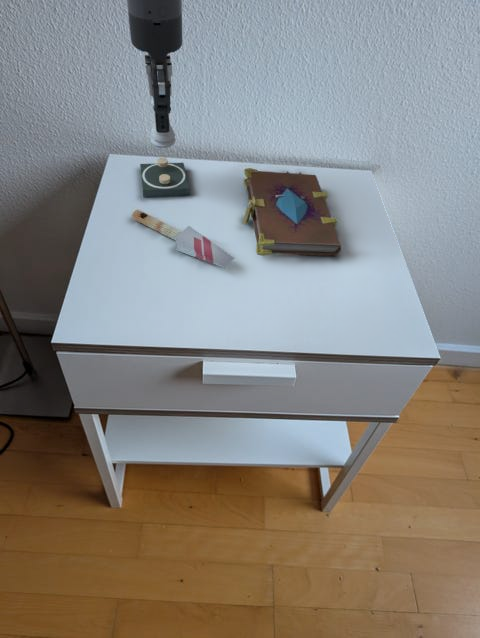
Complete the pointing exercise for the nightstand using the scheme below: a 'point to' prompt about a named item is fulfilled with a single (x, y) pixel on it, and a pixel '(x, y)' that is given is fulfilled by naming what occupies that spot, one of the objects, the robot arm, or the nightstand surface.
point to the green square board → (156, 188)
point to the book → (290, 214)
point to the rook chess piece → (162, 135)
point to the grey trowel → (187, 240)
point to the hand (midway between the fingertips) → (161, 125)
